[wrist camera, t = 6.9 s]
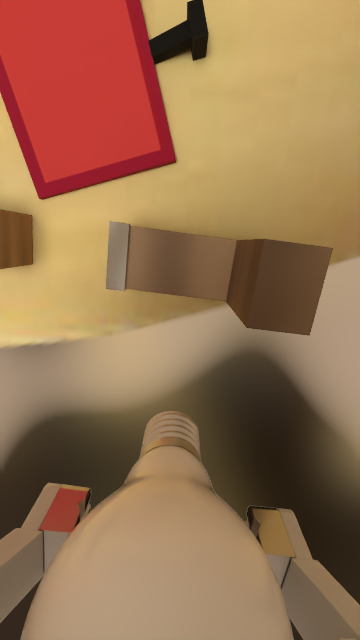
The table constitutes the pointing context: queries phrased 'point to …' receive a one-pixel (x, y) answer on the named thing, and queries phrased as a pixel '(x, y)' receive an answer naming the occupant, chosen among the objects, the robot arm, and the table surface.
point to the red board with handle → (88, 88)
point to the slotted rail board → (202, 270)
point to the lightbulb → (161, 559)
